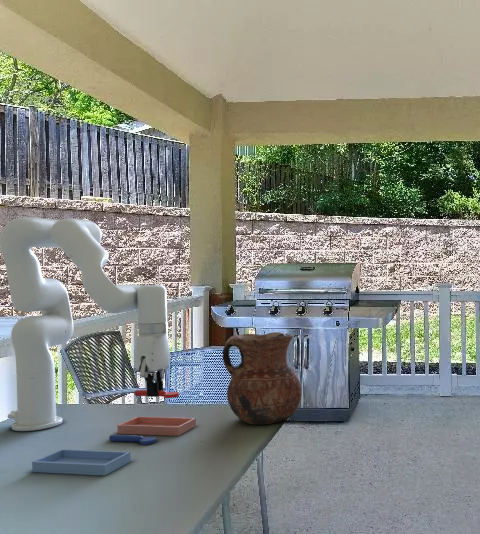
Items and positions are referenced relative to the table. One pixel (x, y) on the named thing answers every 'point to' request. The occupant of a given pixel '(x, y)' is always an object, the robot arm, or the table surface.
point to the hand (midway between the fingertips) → (155, 395)
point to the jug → (262, 379)
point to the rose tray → (156, 426)
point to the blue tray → (81, 462)
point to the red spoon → (161, 393)
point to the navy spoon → (133, 439)
